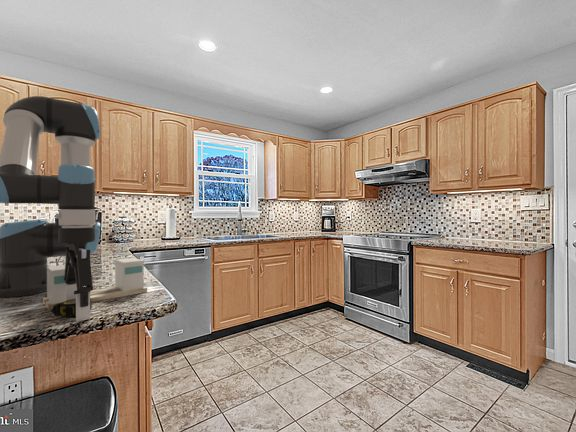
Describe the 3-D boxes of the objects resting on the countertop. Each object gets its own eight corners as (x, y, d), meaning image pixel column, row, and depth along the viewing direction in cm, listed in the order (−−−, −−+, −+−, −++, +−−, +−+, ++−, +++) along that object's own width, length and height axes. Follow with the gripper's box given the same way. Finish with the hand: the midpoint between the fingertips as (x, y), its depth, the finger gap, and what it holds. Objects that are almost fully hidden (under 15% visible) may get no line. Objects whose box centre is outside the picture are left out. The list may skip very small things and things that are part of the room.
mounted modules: (47, 298, 84) (46, 266, 83) (134, 283, 101) (134, 257, 101) (51, 304, 78) (51, 270, 78) (143, 288, 95) (143, 260, 95)
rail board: (43, 302, 84) (43, 296, 84) (135, 286, 102) (135, 282, 102) (48, 310, 77) (48, 304, 77) (147, 291, 95) (147, 287, 95)
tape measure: (76, 309, 78) (75, 295, 78) (98, 311, 77) (98, 297, 77) (51, 318, 71) (51, 303, 71) (75, 320, 70) (75, 305, 70)
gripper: (50, 225, 79) (50, 307, 79) (68, 229, 63) (68, 331, 63) (83, 225, 84) (84, 301, 84) (108, 227, 68) (108, 321, 68)
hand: (77, 313), depth 74 cm, fingers open, 11 cm apart
